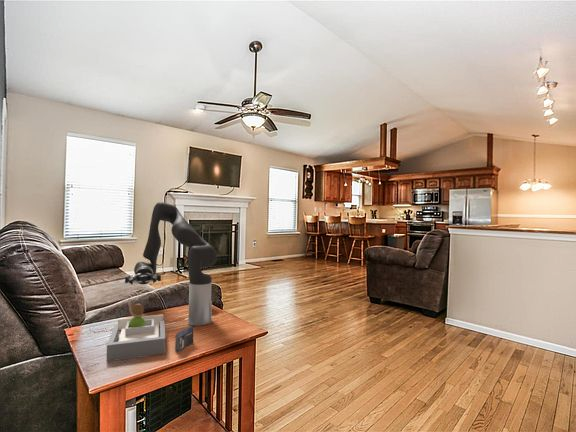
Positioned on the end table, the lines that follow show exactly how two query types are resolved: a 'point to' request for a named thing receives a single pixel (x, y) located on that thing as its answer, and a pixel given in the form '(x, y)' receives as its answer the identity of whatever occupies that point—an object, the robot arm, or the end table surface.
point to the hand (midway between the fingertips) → (142, 281)
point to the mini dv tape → (184, 339)
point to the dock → (135, 345)
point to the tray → (140, 328)
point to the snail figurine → (136, 315)
